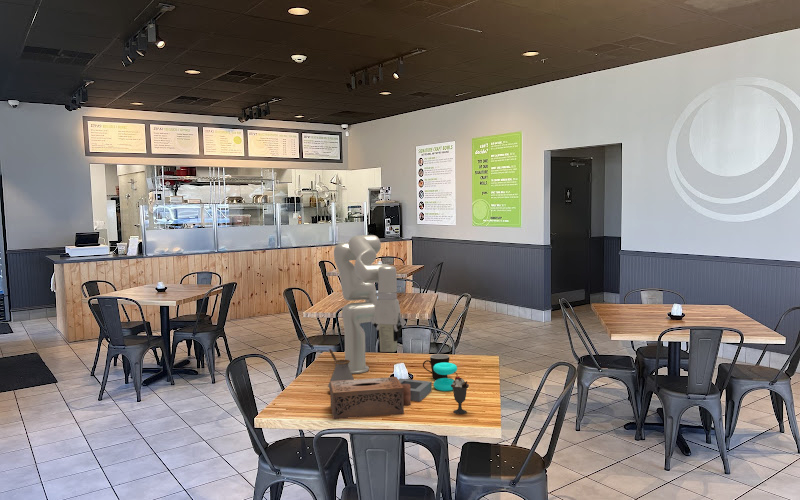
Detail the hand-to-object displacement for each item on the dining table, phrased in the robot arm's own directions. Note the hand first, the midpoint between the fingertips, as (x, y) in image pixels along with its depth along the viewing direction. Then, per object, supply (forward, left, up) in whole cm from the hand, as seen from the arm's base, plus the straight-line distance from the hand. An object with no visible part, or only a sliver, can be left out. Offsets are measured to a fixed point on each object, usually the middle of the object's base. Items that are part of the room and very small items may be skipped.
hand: (388, 339), depth 241 cm
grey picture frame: (+9, 0, -22) cm, 24 cm away
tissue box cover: (0, -22, -22) cm, 32 cm away
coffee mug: (+12, +25, -22) cm, 36 cm away
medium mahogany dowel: (+12, -11, -22) cm, 27 cm away
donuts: (+20, +13, -22) cm, 33 cm away
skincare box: (0, 0, -5) cm, 5 cm away
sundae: (+34, -13, -22) cm, 43 cm away
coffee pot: (-22, -3, -22) cm, 31 cm away
